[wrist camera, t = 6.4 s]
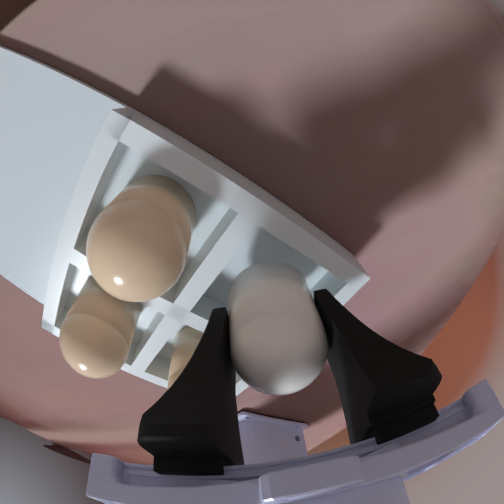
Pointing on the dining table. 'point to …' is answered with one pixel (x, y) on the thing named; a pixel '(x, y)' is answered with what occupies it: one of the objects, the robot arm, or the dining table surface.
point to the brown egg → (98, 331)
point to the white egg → (275, 329)
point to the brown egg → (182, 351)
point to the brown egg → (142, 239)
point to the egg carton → (110, 185)
